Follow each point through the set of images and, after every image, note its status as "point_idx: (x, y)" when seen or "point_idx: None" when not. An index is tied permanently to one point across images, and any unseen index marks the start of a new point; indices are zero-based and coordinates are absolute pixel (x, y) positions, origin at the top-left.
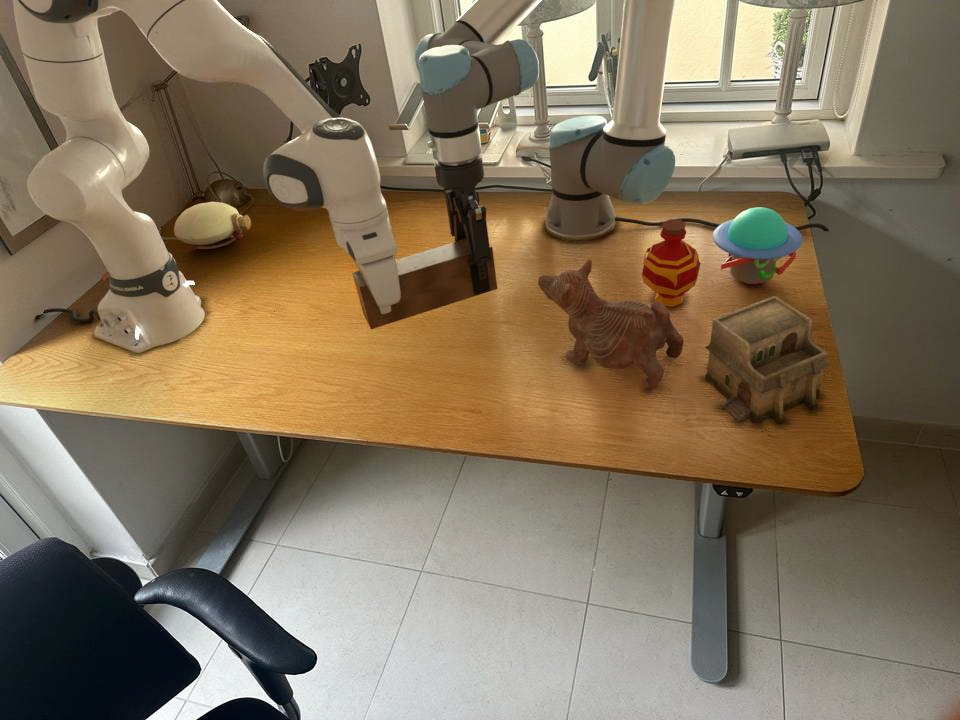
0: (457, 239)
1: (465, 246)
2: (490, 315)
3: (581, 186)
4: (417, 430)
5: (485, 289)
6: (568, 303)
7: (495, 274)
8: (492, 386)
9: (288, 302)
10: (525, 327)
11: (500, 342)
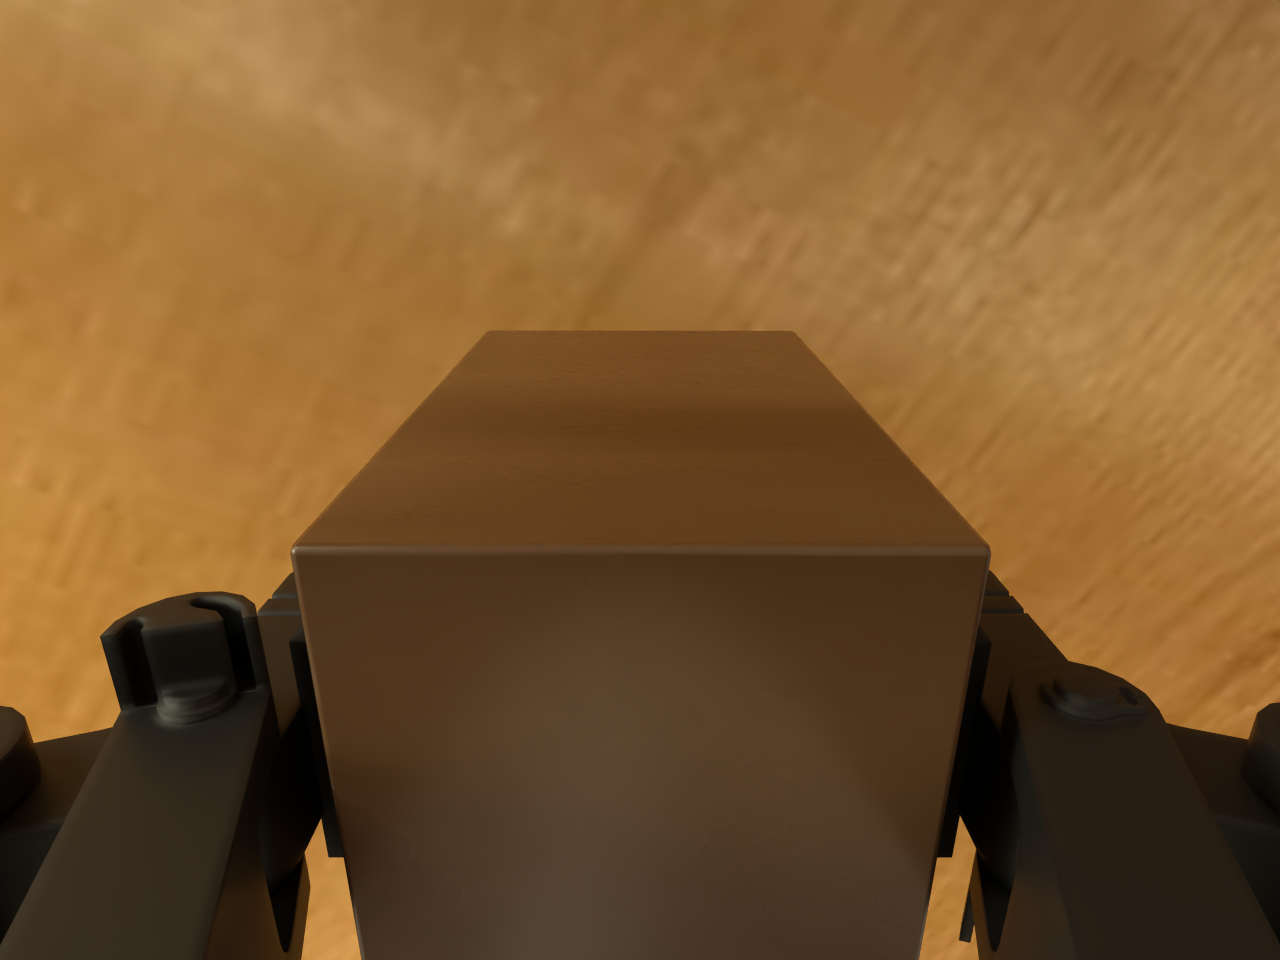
0: (300, 950)
1: (629, 923)
2: (529, 269)
3: None
4: None
5: None
6: None
7: (832, 376)
8: (1161, 521)
9: None
10: (792, 106)
11: (842, 330)
